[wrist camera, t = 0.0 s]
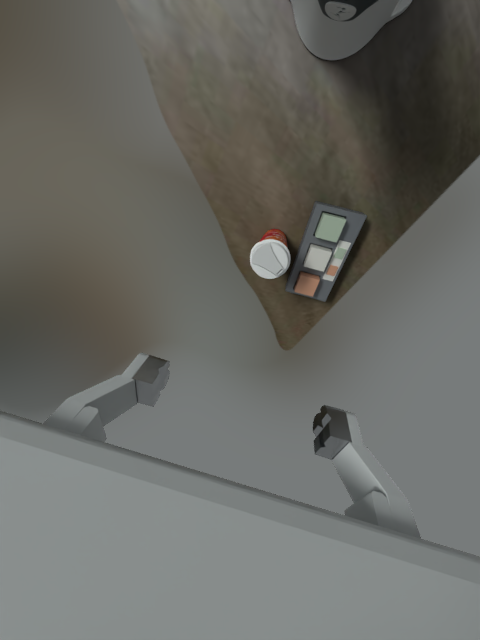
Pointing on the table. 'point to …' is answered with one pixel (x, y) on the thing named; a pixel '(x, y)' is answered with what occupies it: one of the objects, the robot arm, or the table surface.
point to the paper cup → (271, 255)
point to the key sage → (330, 227)
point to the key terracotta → (306, 283)
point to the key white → (317, 257)
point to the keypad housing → (338, 249)
